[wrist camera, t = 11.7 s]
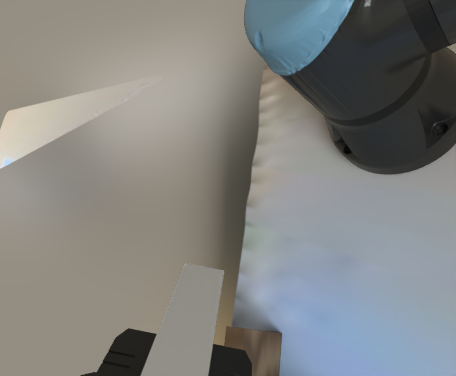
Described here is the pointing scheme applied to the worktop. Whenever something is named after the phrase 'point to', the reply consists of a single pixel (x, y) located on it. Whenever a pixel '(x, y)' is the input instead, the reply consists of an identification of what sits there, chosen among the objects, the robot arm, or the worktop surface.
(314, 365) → the worktop surface
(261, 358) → the walnut board
